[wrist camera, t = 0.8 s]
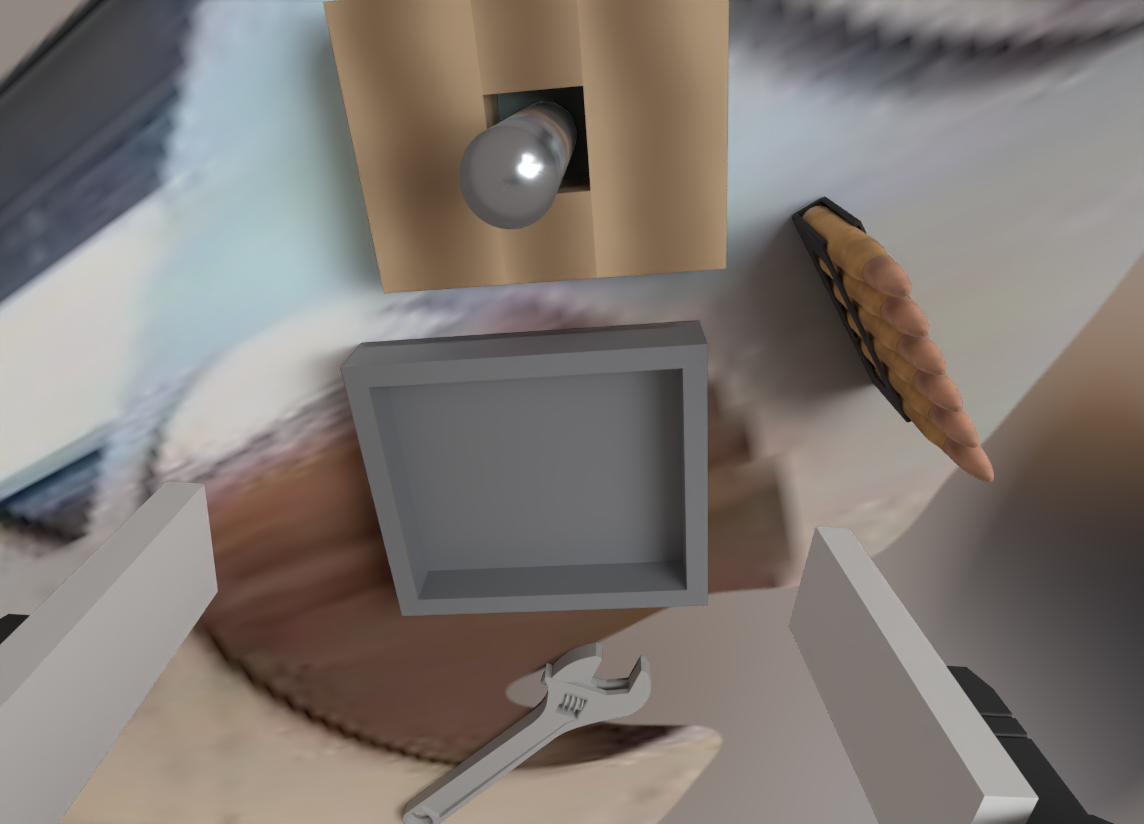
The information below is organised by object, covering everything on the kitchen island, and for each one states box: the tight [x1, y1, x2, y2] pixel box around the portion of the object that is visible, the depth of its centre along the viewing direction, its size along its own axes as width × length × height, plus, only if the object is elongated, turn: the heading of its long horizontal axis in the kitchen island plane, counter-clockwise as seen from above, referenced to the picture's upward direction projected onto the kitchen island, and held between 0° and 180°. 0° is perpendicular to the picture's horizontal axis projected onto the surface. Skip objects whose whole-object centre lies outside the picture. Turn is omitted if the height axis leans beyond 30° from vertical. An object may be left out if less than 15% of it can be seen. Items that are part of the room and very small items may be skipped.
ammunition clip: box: [792, 197, 994, 482], centre depth 31 cm, size 11×2×12 cm, turn 32°
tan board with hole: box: [323, 0, 729, 293], centre depth 32 cm, size 16×12×4 cm
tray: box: [340, 320, 708, 616], centre depth 40 cm, size 18×16×4 cm
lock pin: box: [459, 101, 577, 229], centre depth 28 cm, size 3×3×14 cm
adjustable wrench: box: [403, 642, 651, 824], centre depth 52 cm, size 25×6×2 cm, turn 133°
